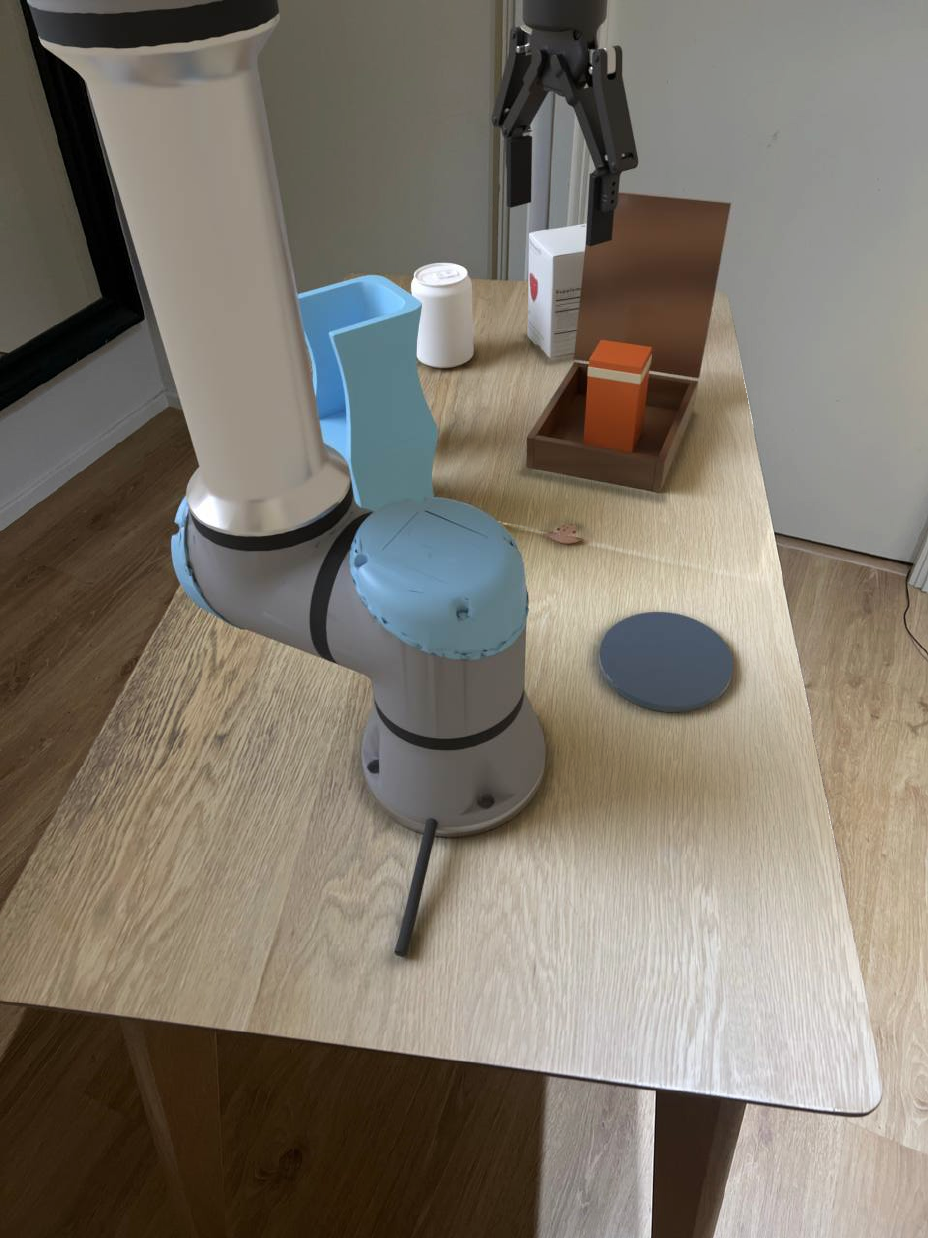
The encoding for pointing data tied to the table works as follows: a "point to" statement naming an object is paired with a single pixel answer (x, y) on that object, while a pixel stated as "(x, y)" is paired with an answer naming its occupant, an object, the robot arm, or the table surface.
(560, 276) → the white product box
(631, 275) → the chest lid
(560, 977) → the table surface
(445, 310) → the beverage can
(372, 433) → the vase
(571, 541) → the cookie
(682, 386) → the chest
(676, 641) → the plate
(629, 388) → the box
